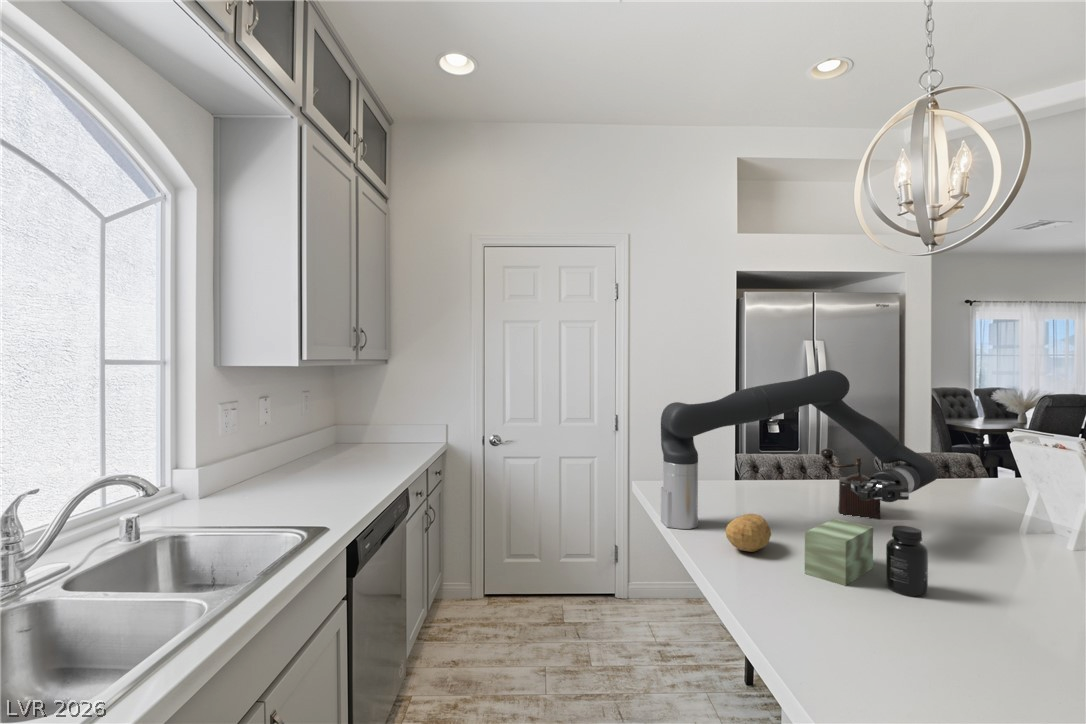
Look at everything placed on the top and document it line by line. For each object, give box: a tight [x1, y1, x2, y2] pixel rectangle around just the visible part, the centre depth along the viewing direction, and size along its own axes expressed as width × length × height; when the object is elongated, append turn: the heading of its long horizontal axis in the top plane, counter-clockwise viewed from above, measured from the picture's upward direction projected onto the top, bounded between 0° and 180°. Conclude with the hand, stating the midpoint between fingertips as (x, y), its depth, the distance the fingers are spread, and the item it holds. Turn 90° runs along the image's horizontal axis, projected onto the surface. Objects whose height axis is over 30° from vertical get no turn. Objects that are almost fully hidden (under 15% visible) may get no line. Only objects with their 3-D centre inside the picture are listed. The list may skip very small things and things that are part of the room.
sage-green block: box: [804, 518, 874, 587], centre depth 116 cm, size 15×8×9 cm, turn 130°
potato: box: [725, 513, 772, 553], centre depth 129 cm, size 10×14×8 cm
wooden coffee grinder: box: [819, 447, 881, 520], centre depth 162 cm, size 16×11×18 cm
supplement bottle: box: [885, 525, 929, 597], centre depth 106 cm, size 7×7×12 cm
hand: (864, 495), depth 123 cm, fingers closed
